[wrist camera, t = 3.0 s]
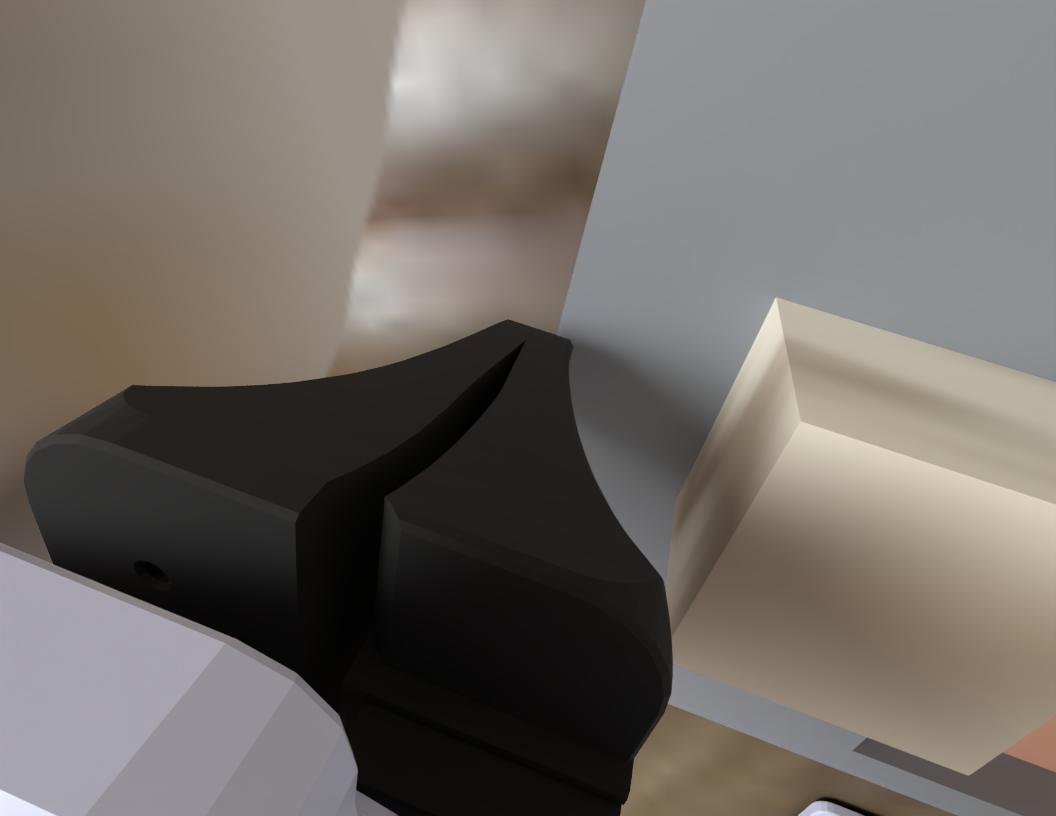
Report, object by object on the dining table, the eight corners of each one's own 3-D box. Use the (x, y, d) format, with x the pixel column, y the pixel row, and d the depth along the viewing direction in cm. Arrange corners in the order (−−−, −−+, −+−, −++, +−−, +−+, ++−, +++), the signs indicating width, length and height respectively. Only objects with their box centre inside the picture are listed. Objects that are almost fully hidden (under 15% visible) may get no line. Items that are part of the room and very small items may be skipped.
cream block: (904, 582, 12) (968, 775, 9) (674, 502, 13) (658, 658, 10) (1079, 389, 10) (1260, 570, 6) (776, 297, 10) (800, 421, 7)
